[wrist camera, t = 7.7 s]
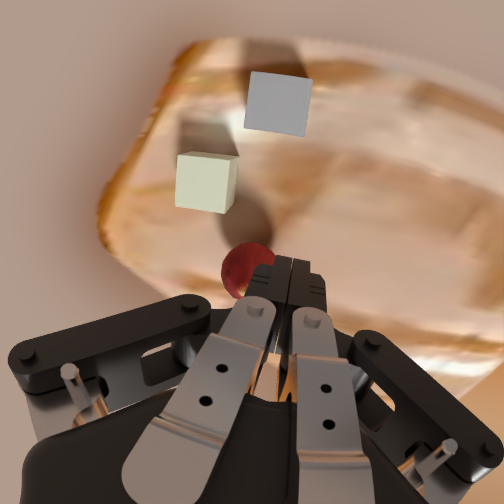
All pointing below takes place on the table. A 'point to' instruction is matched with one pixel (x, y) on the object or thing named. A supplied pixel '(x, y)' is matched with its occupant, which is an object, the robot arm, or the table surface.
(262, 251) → the onion
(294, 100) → the slate block
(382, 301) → the table surface
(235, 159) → the sage block
